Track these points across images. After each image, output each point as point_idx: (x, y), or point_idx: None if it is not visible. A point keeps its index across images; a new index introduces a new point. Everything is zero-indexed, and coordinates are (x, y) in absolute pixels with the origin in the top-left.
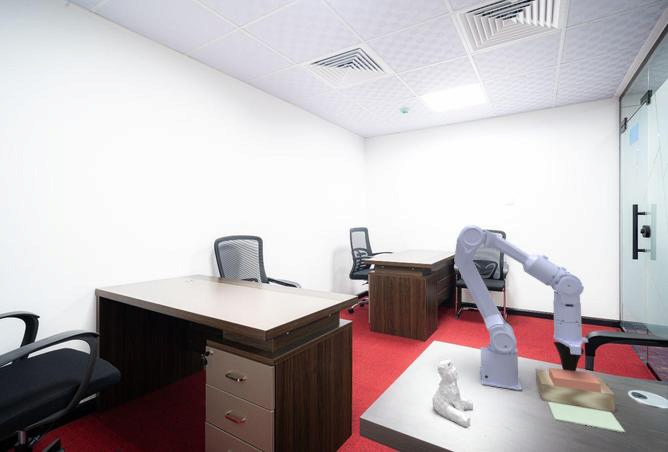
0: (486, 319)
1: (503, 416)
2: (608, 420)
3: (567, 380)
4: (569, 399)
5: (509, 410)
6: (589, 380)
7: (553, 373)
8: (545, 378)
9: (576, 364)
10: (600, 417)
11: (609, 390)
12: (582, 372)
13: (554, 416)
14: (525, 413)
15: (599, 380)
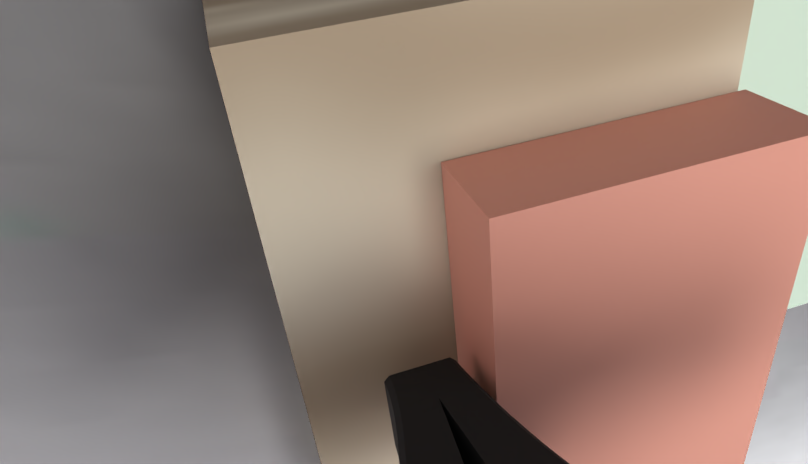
0: None
1: (801, 459)
2: (803, 11)
3: (750, 394)
4: None
5: (746, 460)
6: (755, 237)
7: None
8: None
9: (551, 454)
10: (772, 63)
11: None
12: (514, 319)
13: (794, 304)
14: (762, 408)
15: (353, 72)
